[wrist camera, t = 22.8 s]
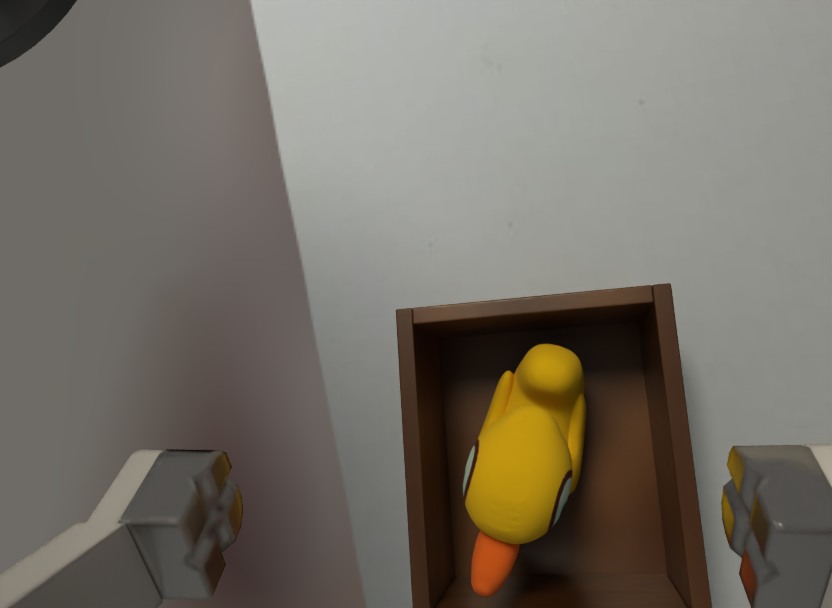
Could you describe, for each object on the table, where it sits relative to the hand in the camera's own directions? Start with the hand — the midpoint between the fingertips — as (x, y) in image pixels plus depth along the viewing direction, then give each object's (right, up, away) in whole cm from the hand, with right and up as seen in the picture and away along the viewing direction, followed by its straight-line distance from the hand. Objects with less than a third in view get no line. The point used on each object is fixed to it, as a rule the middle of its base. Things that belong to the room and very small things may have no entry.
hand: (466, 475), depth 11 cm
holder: (+6, -5, +26) cm, 27 cm away
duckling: (+6, -5, +26) cm, 27 cm away
